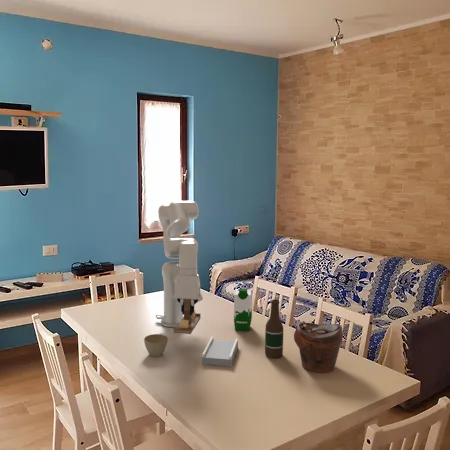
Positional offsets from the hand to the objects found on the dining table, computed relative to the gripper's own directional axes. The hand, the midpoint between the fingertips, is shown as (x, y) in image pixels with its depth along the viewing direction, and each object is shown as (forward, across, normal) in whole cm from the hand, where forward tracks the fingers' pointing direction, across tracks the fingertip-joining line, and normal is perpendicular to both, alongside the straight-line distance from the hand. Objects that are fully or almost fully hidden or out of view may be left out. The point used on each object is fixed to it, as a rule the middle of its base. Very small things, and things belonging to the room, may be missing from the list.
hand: (187, 313), depth 203 cm
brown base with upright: (+5, 0, 0) cm, 5 cm away
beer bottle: (+18, +36, +5) cm, 41 cm away
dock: (+18, +14, 0) cm, 23 cm away
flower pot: (+18, -13, -4) cm, 22 cm away
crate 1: (+4, 0, -6) cm, 8 cm away
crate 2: (+4, 0, +6) cm, 8 cm away
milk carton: (+18, +19, +35) cm, 44 cm away
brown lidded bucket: (+17, +54, -3) cm, 57 cm away
